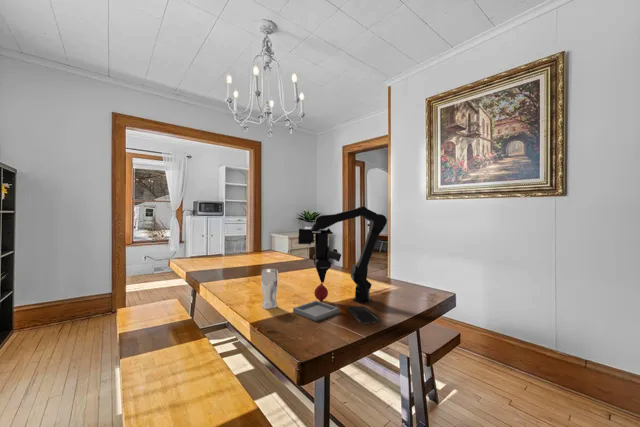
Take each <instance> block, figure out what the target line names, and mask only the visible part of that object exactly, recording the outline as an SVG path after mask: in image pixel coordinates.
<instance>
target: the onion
mask: <svg viewBox="0 0 640 427" xmlns="http://www.w3.org/2000/svg"><path fill="white" fill-rule="evenodd" d="M313 292H314V296H315V298H316V299H317V301H319V302H323V301H324V300H326V298H328V295H329V291H328V288H327V287H326V286H325V285H324V283H321V282H320V284H319V285H317V286H316V288H315V289H314V291H313Z"/></svg>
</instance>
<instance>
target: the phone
mask: <svg viewBox="0 0 640 427" xmlns="http://www.w3.org/2000/svg"><path fill="white" fill-rule="evenodd" d="M346 310H347V311H348V312H349V313H350V315H351V316H353V318H354V319H355V320H356V321H357V322H358V323H359V324H362V325H365V324H366V325H367V324H370V323H371V324H376V322H377V323H380V322H381V319H380V317H378V316H377V315H376V314H375V313H373V312H372V311H371V310H370V309H369V308H368V307H366V306H364V305H361V306H359V305H358V306H348V307H347V309H346Z"/></svg>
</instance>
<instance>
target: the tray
mask: <svg viewBox="0 0 640 427" xmlns="http://www.w3.org/2000/svg"><path fill="white" fill-rule="evenodd" d="M292 313H293V314H296V315H298V316H301V317H304V318H306V319H309V320H310V321H313V322H319V321H321V320H324V319H326V318H329V317H331V316H335V315H337V314H340V308H339V307H338V306H334V305H332V304H328V303H324V302H323V301H319V300H314V301H311V302H308V303H304V304H301V305H298V306H295V307H293V308H292Z"/></svg>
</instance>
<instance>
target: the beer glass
mask: <svg viewBox="0 0 640 427" xmlns="http://www.w3.org/2000/svg"><path fill="white" fill-rule="evenodd" d="M260 282H261V284H260V285H261V292H262V304H261V308H262V309H265V310H273V309H276V308H277V307H278V302H277V294H278V287H279V269H276V268H263V269H262V270H261V277H260Z"/></svg>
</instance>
